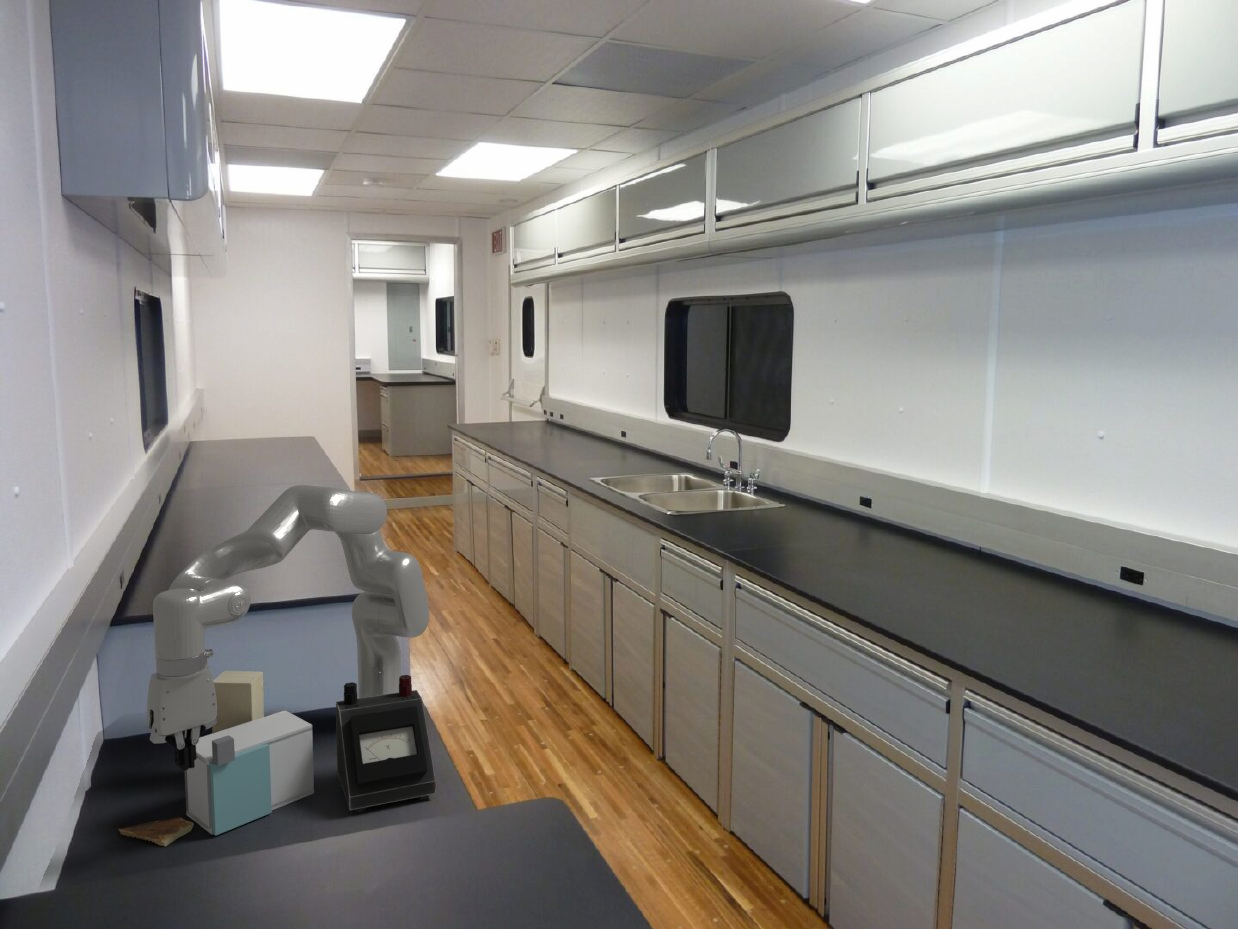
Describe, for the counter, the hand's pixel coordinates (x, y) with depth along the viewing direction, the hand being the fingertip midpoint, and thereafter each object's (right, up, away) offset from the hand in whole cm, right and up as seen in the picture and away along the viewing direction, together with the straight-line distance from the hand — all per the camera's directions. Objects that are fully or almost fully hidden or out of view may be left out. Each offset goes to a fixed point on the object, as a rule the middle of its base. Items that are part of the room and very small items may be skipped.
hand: (185, 766), depth 151 cm
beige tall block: (-2, -12, +28) cm, 30 cm away
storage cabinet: (+4, -13, +17) cm, 22 cm away
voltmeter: (+28, -13, +24) cm, 39 cm away
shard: (-8, -15, +6) cm, 18 cm away
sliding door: (+6, -14, +9) cm, 18 cm away
